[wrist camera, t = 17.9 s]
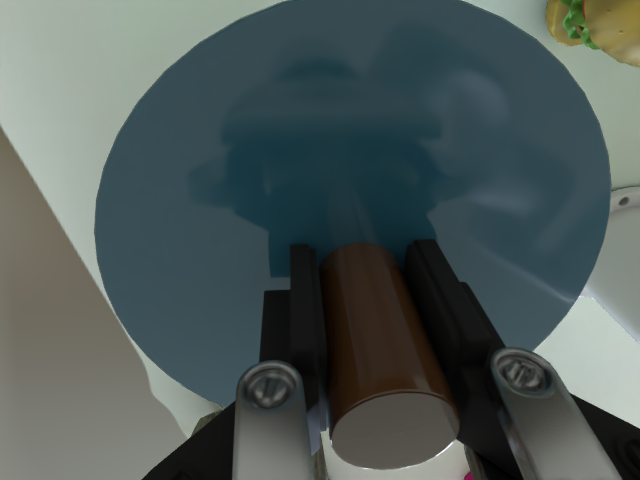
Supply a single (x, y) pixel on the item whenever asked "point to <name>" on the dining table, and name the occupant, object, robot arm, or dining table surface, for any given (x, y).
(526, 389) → the robot arm
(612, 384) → the dining table surface
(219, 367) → the lid
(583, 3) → the hamburger
